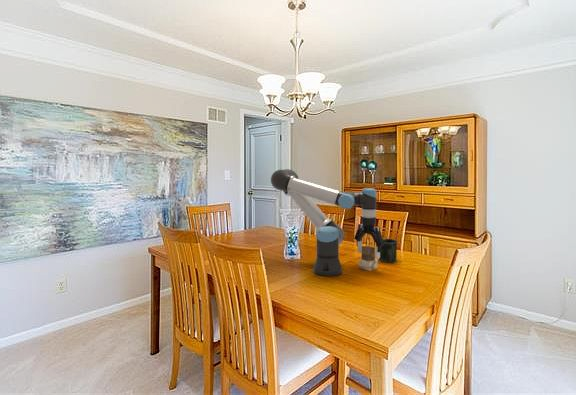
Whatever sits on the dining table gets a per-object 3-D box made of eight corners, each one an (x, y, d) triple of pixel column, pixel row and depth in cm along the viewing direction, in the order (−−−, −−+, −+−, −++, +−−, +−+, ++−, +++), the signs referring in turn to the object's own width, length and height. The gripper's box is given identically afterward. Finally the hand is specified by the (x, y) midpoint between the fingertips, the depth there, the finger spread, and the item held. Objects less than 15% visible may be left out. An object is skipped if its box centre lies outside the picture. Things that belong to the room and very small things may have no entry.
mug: (375, 261, 190) (376, 241, 189) (382, 255, 203) (383, 236, 202) (394, 264, 185) (395, 243, 184) (400, 258, 197) (401, 238, 196)
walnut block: (367, 261, 174) (368, 248, 174) (361, 259, 178) (361, 246, 178) (374, 259, 177) (375, 247, 176) (368, 257, 181) (368, 245, 180)
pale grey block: (369, 271, 173) (369, 262, 173) (359, 268, 178) (359, 259, 178) (377, 268, 178) (377, 259, 177) (366, 265, 183) (367, 257, 182)
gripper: (391, 219, 167) (391, 259, 169) (357, 213, 188) (357, 249, 190) (381, 220, 163) (381, 261, 165) (348, 214, 184) (347, 251, 186)
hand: (368, 255), depth 177 cm, fingers open, 13 cm apart
